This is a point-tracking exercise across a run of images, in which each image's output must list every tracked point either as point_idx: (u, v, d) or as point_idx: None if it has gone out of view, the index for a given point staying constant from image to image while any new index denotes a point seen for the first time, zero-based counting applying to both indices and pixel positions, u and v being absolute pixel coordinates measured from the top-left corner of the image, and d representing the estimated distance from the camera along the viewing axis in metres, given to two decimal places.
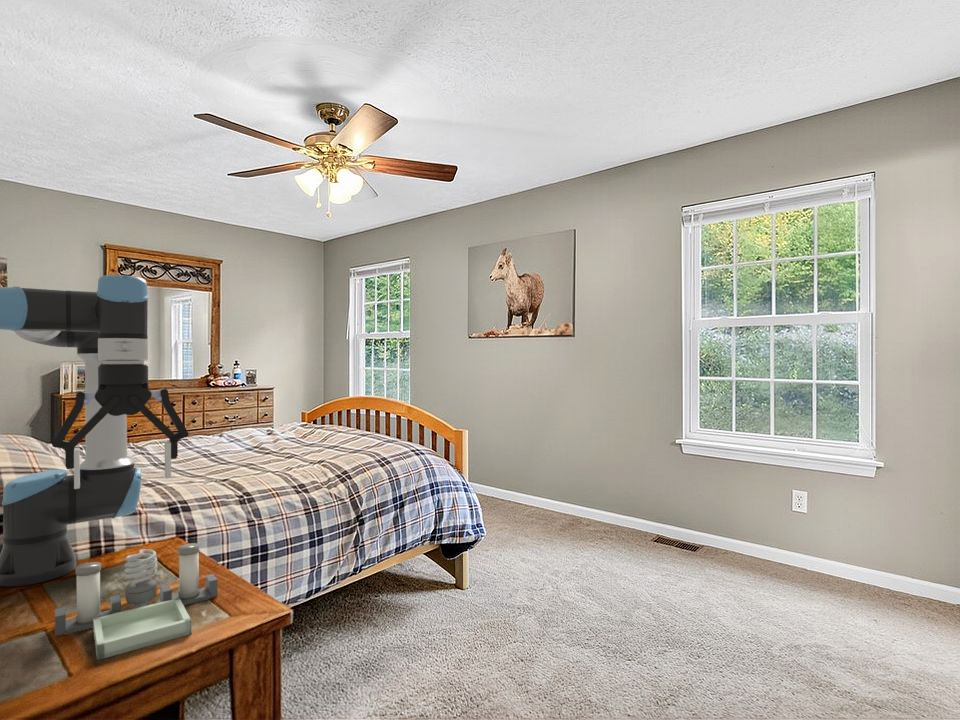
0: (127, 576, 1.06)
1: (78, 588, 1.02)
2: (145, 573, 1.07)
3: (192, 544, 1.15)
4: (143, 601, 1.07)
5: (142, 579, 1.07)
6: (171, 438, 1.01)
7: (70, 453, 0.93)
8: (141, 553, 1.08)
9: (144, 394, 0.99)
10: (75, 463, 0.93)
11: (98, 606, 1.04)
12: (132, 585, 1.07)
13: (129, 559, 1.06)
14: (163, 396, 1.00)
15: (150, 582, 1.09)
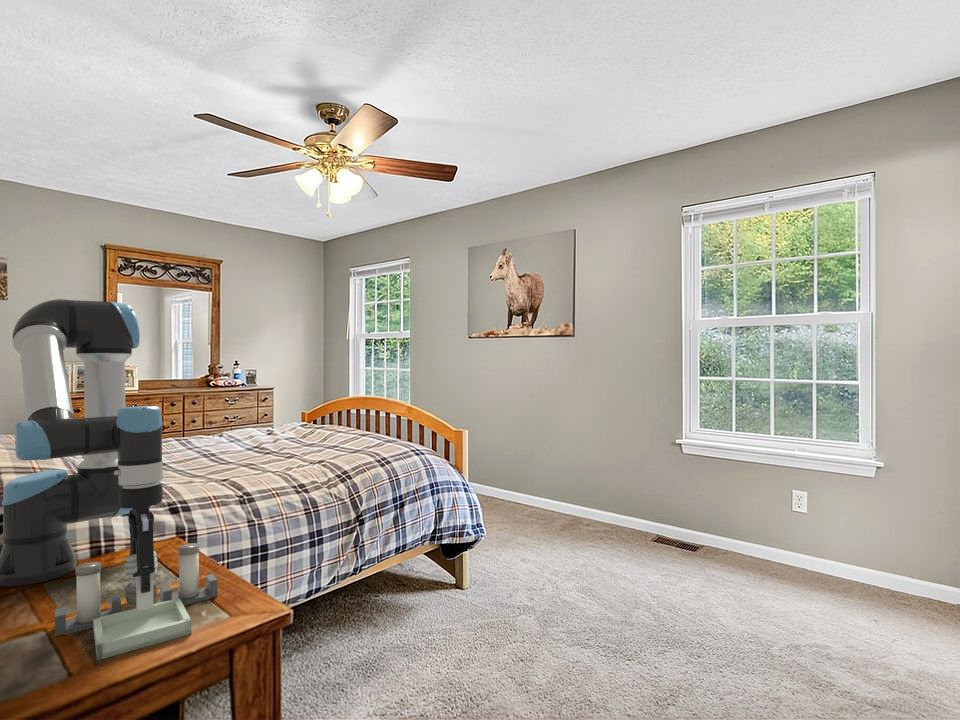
0: (127, 576, 1.06)
1: (78, 588, 1.02)
2: None
3: (192, 544, 1.15)
4: None
5: None
6: (137, 571, 1.03)
7: None
8: None
9: (136, 517, 1.05)
10: None
11: (98, 606, 1.04)
12: (132, 585, 1.06)
13: (129, 559, 1.06)
14: (137, 527, 1.03)
15: None
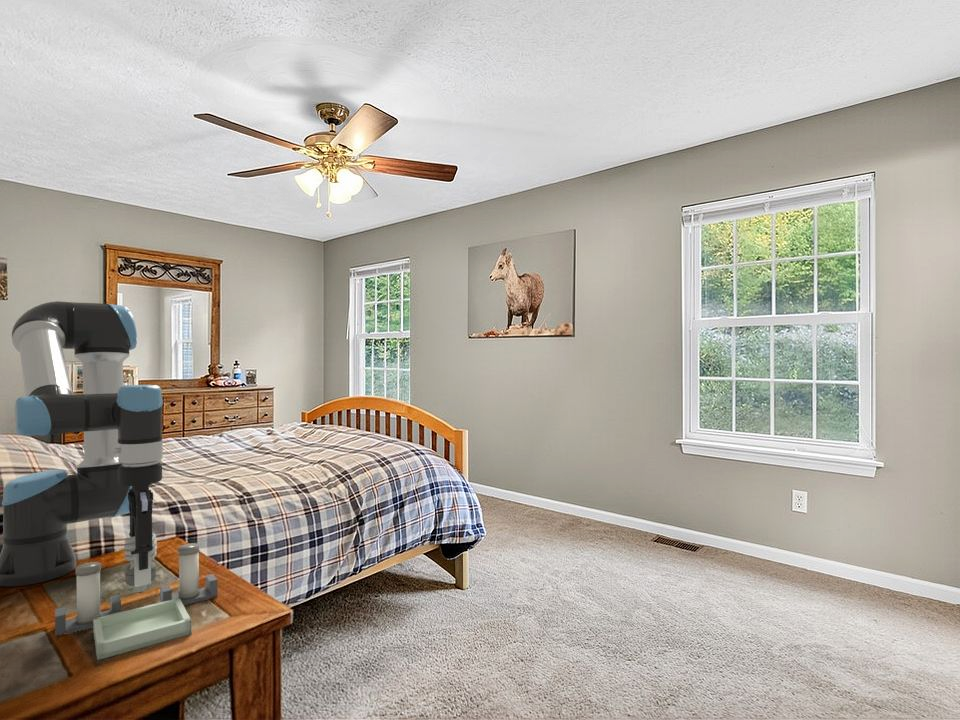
0: (127, 558, 1.06)
1: (78, 588, 1.02)
2: None
3: (192, 544, 1.15)
4: None
5: None
6: None
7: None
8: None
9: (135, 495, 1.06)
10: None
11: (98, 606, 1.04)
12: (132, 567, 1.07)
13: (129, 542, 1.07)
14: (136, 507, 1.04)
15: None
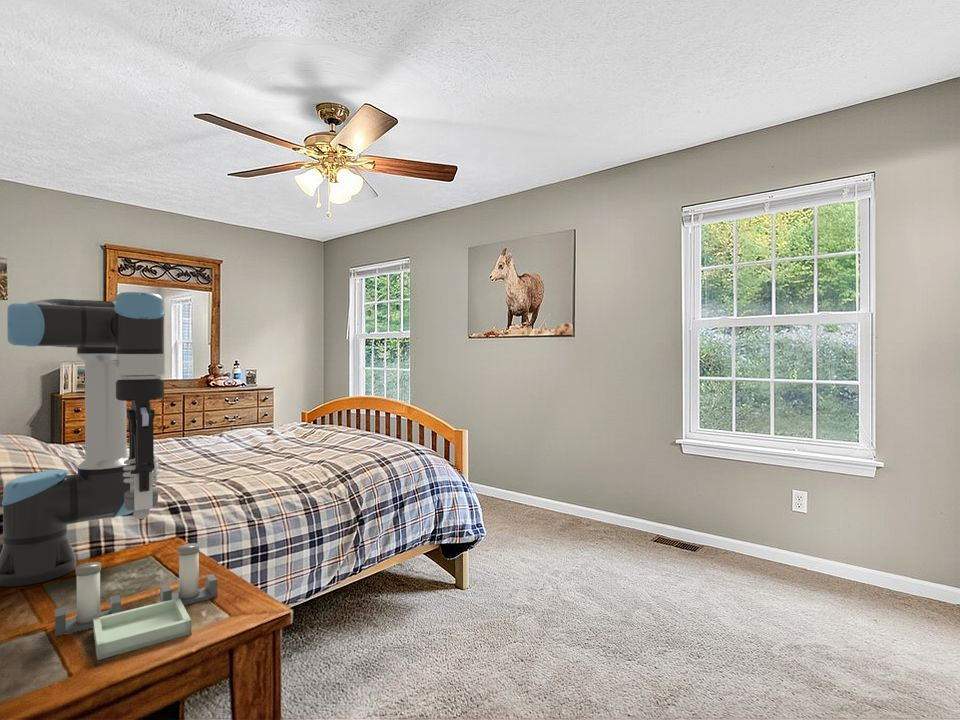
0: (126, 480, 0.97)
1: (78, 588, 1.02)
2: None
3: (192, 544, 1.15)
4: None
5: None
6: (135, 468, 0.96)
7: None
8: None
9: (135, 410, 0.97)
10: None
11: (98, 606, 1.04)
12: (132, 490, 0.98)
13: (128, 462, 0.97)
14: (136, 421, 0.95)
15: None
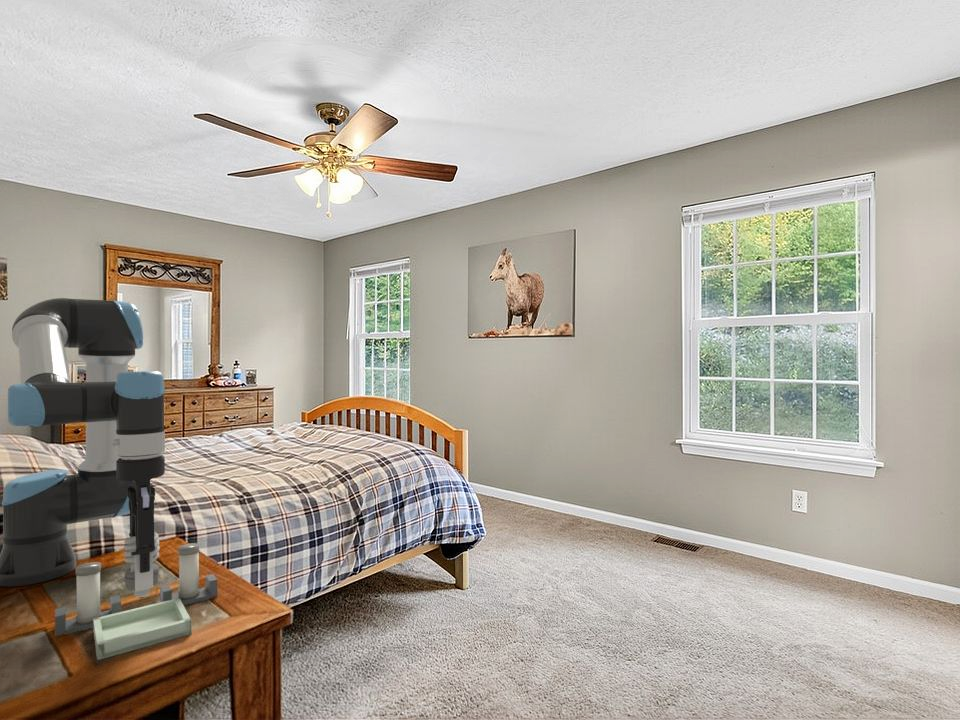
0: (127, 560, 0.97)
1: (78, 588, 1.02)
2: None
3: (192, 544, 1.15)
4: None
5: None
6: (136, 549, 0.96)
7: None
8: None
9: (136, 491, 0.97)
10: None
11: (98, 606, 1.04)
12: (132, 569, 0.98)
13: (129, 542, 0.97)
14: (137, 503, 0.95)
15: None
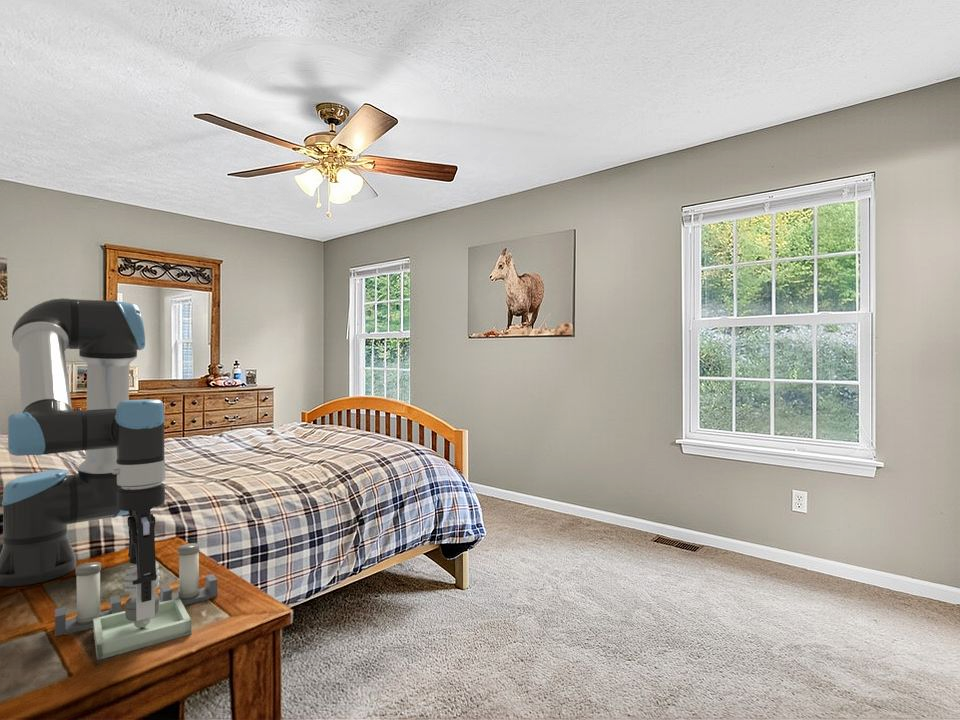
0: (127, 590, 0.98)
1: (78, 588, 1.02)
2: None
3: (192, 544, 1.15)
4: None
5: None
6: (137, 578, 0.95)
7: None
8: None
9: (136, 521, 0.97)
10: None
11: (98, 606, 1.04)
12: (133, 600, 0.98)
13: (129, 572, 0.98)
14: (137, 531, 0.94)
15: None
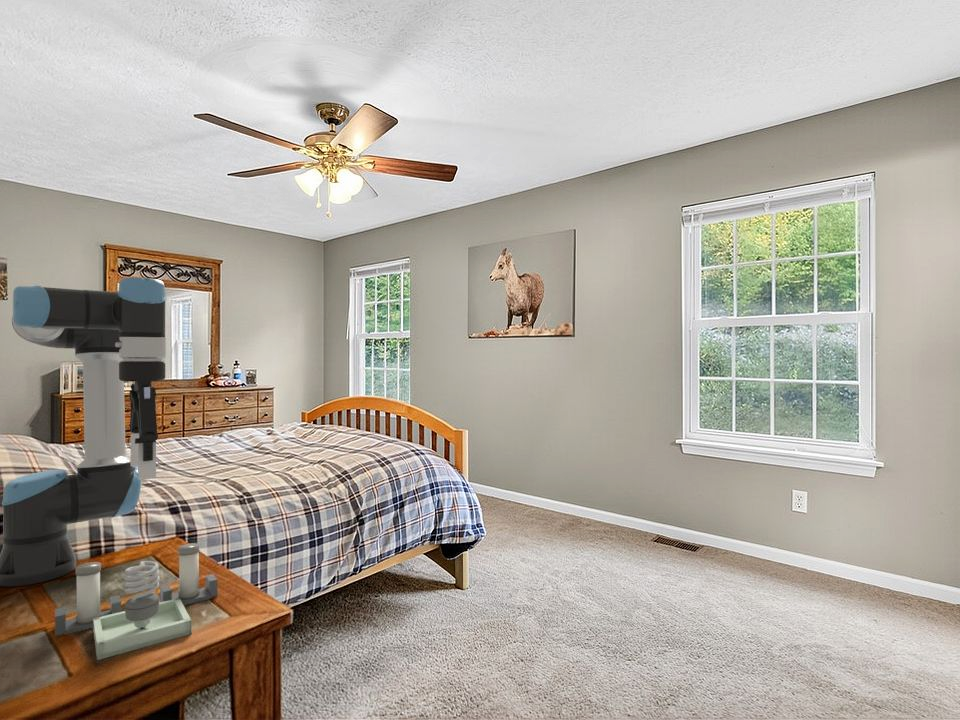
0: (127, 590, 0.97)
1: (78, 588, 1.02)
2: (146, 587, 0.98)
3: (192, 544, 1.15)
4: (144, 618, 0.98)
5: (143, 594, 0.98)
6: None
7: None
8: (142, 565, 0.99)
9: (137, 391, 1.01)
10: None
11: (98, 606, 1.04)
12: (133, 600, 0.98)
13: (129, 572, 0.98)
14: (138, 395, 0.99)
15: (152, 597, 1.00)
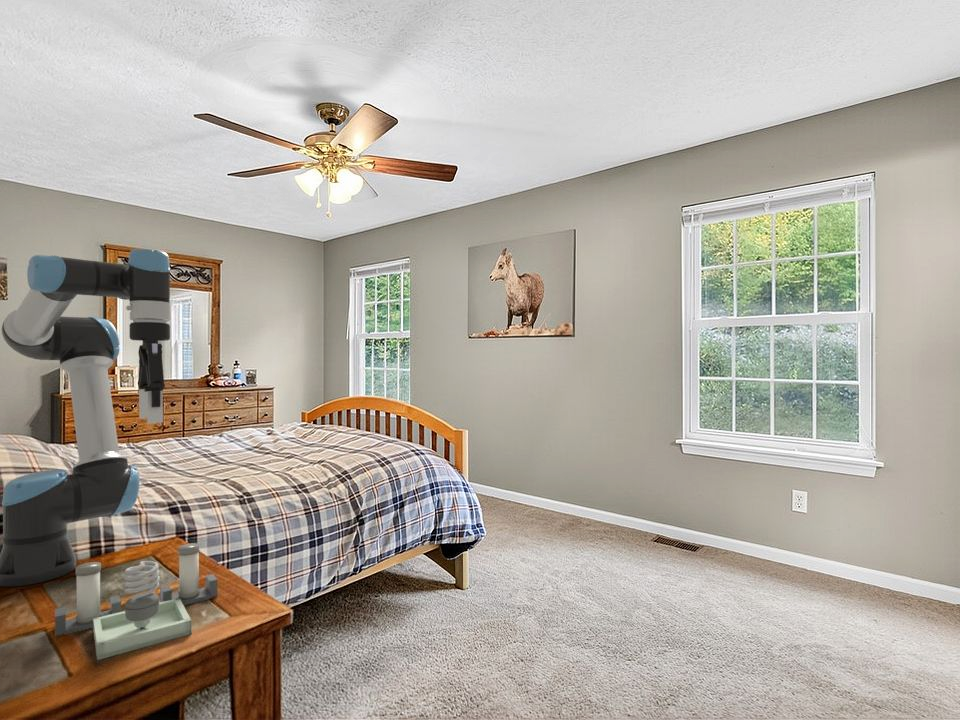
0: (127, 590, 0.97)
1: (78, 588, 1.02)
2: (146, 587, 0.98)
3: (192, 544, 1.15)
4: (144, 618, 0.98)
5: (143, 594, 0.98)
6: None
7: None
8: (142, 565, 0.99)
9: (146, 348, 1.15)
10: (139, 399, 1.23)
11: (98, 606, 1.04)
12: (133, 600, 0.98)
13: (129, 572, 0.98)
14: (147, 350, 1.13)
15: (152, 597, 1.00)
